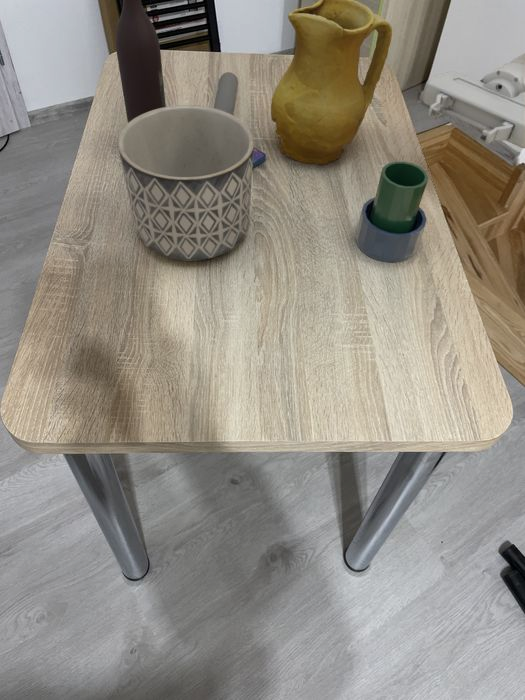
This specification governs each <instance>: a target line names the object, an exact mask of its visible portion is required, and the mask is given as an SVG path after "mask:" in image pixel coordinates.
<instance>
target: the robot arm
mask: <svg viewBox="0 0 525 700" xmlns="http://www.w3.org/2000/svg"><path fill="white" fill-rule="evenodd" d="M422 103H424V104H425V105H427V106H429V109H428V112H427V116H428V117H429V118H432V119H434V120H437V119H438V118H441V117H442V114H443V113H444V114H447V115H449V116H451V117H453V118H455V119H457V120H460V121H462V122H464V123H467V124H469V125H470V126H473V127H476V128H477V129H480V130H481V131H482V132H481V136H480V137H479V140H480V141H482V142H483V143H486V144H487V145H488V144H490V143H492V142H501V141H502V142H504V141H505V142H508V143H510V144H512V145H514V146H517V147H519V148H521V149H525V53H521V54H520V55H519V56H517V57H515V58H514V59H512V60H511V61H509V62H508V63H504V64H503V65H501V66H499V67H497V68H495V69H494V70H492V71H490V72H488V73H487V74H485V75H484V76H483V77H481V79H480V80H478V79H476V78H473V77H471V76H468V75H467V74H464V73H462V72H458V71H448V72H444V73H441V74H438V75H434V76H432V77H431V78H429V79H427V80H426V83H425V85H424V87H423V91H422Z"/></svg>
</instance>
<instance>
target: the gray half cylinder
mask: <svg viewBox="0 0 525 700" xmlns="http://www.w3.org/2000/svg"><path fill="white" fill-rule="evenodd" d="M238 85H239V80H238V77H237V75H236V74H235V73H233V72H229V71H226V72H224V73H222V74H221V75H220V77H219V80H218V85H217V90H216V96H215V101H214V105H213V108H214V109H218V110H221V111H224V112H227V113H229V114H231V115H233V116H234V112H235V105H236V99H237V92H238Z"/></svg>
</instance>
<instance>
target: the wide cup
mask: <svg viewBox="0 0 525 700" xmlns="http://www.w3.org/2000/svg"><path fill="white" fill-rule="evenodd" d="M374 200H375V197H371V198H369V199H368V200H367V201H366V202H365V203H364V204H363V206H362V208H361V211H360V215H359V220H358V224H357V229H356V232H355V242H356V244H357V247H358V248H359V249H360V251H361V252H363V253H364V254H365V255H367V256H368V257H369V258H371V259H373V260H376V261H379V262H383V263H401V262H404V261H407V260H409V259H411V258H412V257H413V256H414V255H415V254H416V252H417V250H418V247H419V244H420V242H421V239H422V237H423V233H424V231H425V228H426V224H427V221H428V220H427V216H426V214H425V213H426V212H425V211H424V210H423V209H422V208H421V207H420V206H419V208H418V211H417V214H416V217H415V220H414V223H413V226H412V229H411V232H410V233H403V234H397V233H389V232H386V231H383V230H381V229H379V228H377V227H376V226H374V225H373V224H371V222H370V221H369V220H370V216H371V212H372V208H373V204H374Z"/></svg>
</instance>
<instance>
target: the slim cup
mask: <svg viewBox="0 0 525 700" xmlns="http://www.w3.org/2000/svg"><path fill="white" fill-rule="evenodd" d="M426 171H427V170H425V169H423V168H422V167H421V166H419V165H417V164H415V163H412V162H408V161H404V160H403V161H402V160H401V161H392V162H389V163H387V164H386V165H384V166H383V167H382V170H381V173H380V176H379V181H378V185H377V188H376V193H375V200H374V204H373V208H372V212H371V216H370V220H369V221H370V222H371V224H373V225H374V226H376V227H377V228H379V229H381V230H383V231H386V232H389V233H397V234H403V233H410V232H411V229H412V226H413V223H414V220H415V217H416V214H417V211H418V208H419V207H420V205H421V202H422V199H423V196H424V192H425V189H426V187H427V184H428V180H429V175H428V173H427V172H426Z"/></svg>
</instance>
